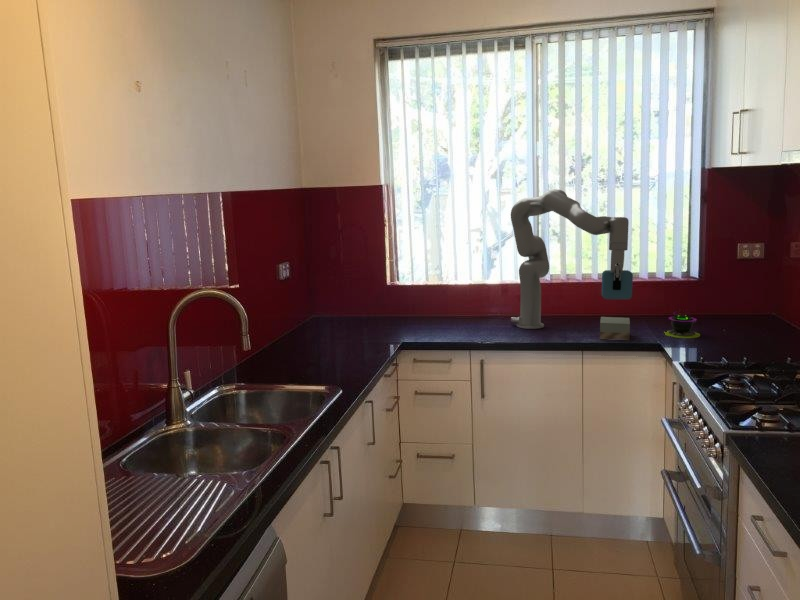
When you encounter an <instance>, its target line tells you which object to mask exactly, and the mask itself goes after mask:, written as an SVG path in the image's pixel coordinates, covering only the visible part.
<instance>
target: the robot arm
mask: <svg viewBox="0 0 800 600" xmlns="http://www.w3.org/2000/svg"><path fill="white" fill-rule="evenodd" d="M550 212H553V213H555V214H557V215H560V216H562V217H563V218H565V219H567V220H568V221H569V222H571V224H573V225H574V226H575V227H577V228H579V229H581V230H582V231H585V232H586V233H588V234H590V235H593V236H599V235H605V234H608V235H609V237H608V238H609V240H608V243H609V245H608V251H611V253H610V270H611V274H612V272H613V273H614V280H613V290H621V274H622V272H623V270H624V265H625V264H624V262H625V251H628V246H629V244H628V243H629V223H630V222H629V218H628V217H626V216H625V217H623V216H614V217H612V216H606V215H605V216H604V215H602V216H595V215H593V214H591V213H589V212H588V211H586V210H584V209H583V208H582V207H581V204H580V202H578V200H577V201H576V200H575V199H573V198H571V197H569V196H568V195H567V194H566V192H565V191H564V190H562V189H548V190H547V191H545V192H543V194H542V195H539V196H536V197H535V196H534V197H524V198H521V199H519V200H517V201H516V202H515V203H514V204H513V206H512V207H511V210H510V221H511V226H512V229H513V235H514V238H515V244H516V250H517V253H518V255H520V257H521V258H522V257H524V258H528V259H527V260H525V261H524V262H522V263H520V266H519V268H518V277H519V283H520V292H519V293H520V301H519V302H520V303H519V304H520V306H519V307H520V309H519V311H520V312H519V314H520V315H519V316H517V317H515V316H512V317H510V322H512V323H516V327H517V328H520V329H527V330H538V329H542V328H544V327H545V324H544V323H542V319H541V317H542V316H541V315H542V283H541V280H540V279H542V278H544V277H546V276H547V275H548V274H549V270H550V261H549V256H548V252H547V248H546V243H545V241H544V240H543V238H542V237H540V236H539V235H534V231H533V225H532V223H531V221H530V218H529V217H536V216H537V217H538V216H541V215H544V214H547V213H550ZM615 272H616V273H615ZM619 272H620V273H619Z"/></svg>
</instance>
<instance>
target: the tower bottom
mask: <svg viewBox="0 0 800 600" xmlns="http://www.w3.org/2000/svg"><path fill="white" fill-rule="evenodd" d="M630 335H631V333H614V332H600V331H599V340H600V339H624V340H629V341H630Z"/></svg>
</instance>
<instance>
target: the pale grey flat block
mask: <svg viewBox="0 0 800 600" xmlns="http://www.w3.org/2000/svg"><path fill="white" fill-rule="evenodd" d="M630 322H631V321H630V317H617V316H615V317H613V316H600V322H599V333H600V332H614V333H630V330H631V323H630ZM630 334H631V333H630Z"/></svg>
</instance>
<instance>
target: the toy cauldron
mask: <svg viewBox="0 0 800 600" xmlns="http://www.w3.org/2000/svg"><path fill="white" fill-rule="evenodd" d="M678 310H679V311H680V308H679V309H678ZM685 310H686V308H685ZM686 311H687V310H686ZM675 313H676V311H675V312H673V314H675ZM686 313H689V312H686ZM668 320H671V327H672V329H670V330H666V331H667V332H665V331H663V332H664V333H665V335H664V336H667V337H670V336H671V338H679V339H697V338H700V337H701V334H700V333H698V332H696V331H695V330H692V328H693V325H694V323H697V320H698V319H697V318H694V317H691V316H689V315H688V316H687V315H686V314H685V315H679V314H675V315H674V316H669V317H668Z"/></svg>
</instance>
